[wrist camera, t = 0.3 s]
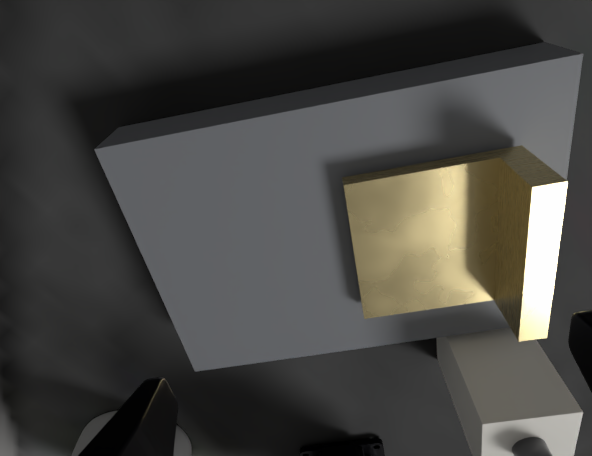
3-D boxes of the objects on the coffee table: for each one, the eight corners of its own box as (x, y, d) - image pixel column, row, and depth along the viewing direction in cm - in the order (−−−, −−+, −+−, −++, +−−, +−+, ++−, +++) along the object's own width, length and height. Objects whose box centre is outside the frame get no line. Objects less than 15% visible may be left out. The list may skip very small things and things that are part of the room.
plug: (505, 349, 29) (587, 498, 21) (437, 359, 30) (491, 508, 21) (509, 298, 27) (602, 442, 19) (435, 309, 27) (495, 455, 19)
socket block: (523, 287, 26) (547, 322, 24) (204, 334, 28) (194, 371, 26) (544, 41, 19) (583, 53, 17) (118, 127, 21) (93, 149, 19)
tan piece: (511, 286, 22) (546, 337, 19) (362, 308, 23) (372, 361, 20) (521, 145, 18) (567, 181, 15) (342, 177, 19) (351, 218, 16)
